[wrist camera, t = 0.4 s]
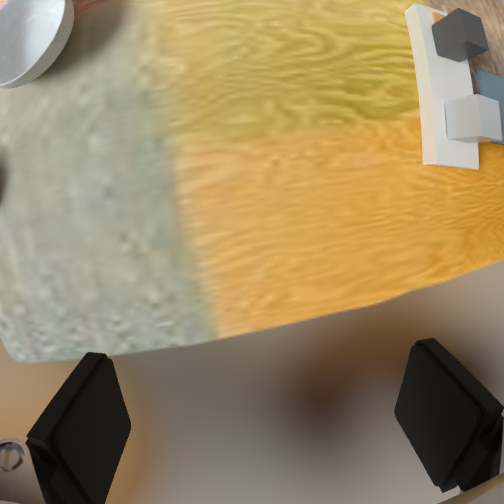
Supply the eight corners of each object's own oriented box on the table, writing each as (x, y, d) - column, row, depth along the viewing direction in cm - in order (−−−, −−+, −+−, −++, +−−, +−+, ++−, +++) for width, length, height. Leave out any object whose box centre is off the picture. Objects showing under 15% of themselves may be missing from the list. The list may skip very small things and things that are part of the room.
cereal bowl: (-10, 67, 30) (-36, 58, 23) (52, -13, 28) (32, -30, 21) (33, 114, 33) (4, 108, 26) (108, 22, 31) (88, 1, 24)
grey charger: (438, 104, 33) (476, 93, 25) (459, 109, 33) (498, 101, 25) (441, 139, 34) (481, 135, 26) (462, 143, 34) (502, 141, 26)
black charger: (426, 28, 30) (458, 7, 22) (447, 35, 30) (480, 17, 22) (432, 58, 31) (467, 40, 23) (453, 64, 31) (489, 50, 23)
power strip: (404, 11, 31) (416, 1, 27) (446, 25, 31) (459, 16, 27) (422, 164, 37) (439, 164, 33) (464, 169, 37) (481, 169, 33)
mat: (476, 69, 33) (479, 68, 32) (512, 84, 33) (515, 83, 32) (484, 140, 36) (488, 140, 35) (519, 149, 36) (523, 149, 35)
